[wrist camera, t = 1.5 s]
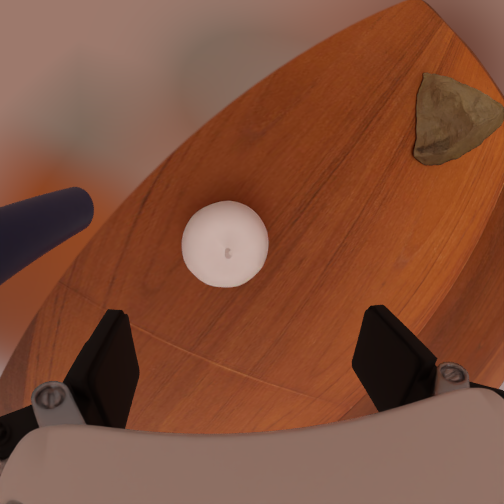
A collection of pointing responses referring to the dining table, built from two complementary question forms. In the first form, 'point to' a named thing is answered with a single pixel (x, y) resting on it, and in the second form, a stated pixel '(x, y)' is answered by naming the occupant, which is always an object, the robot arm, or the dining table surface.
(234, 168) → the dining table surface
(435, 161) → the rock
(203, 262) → the apple
